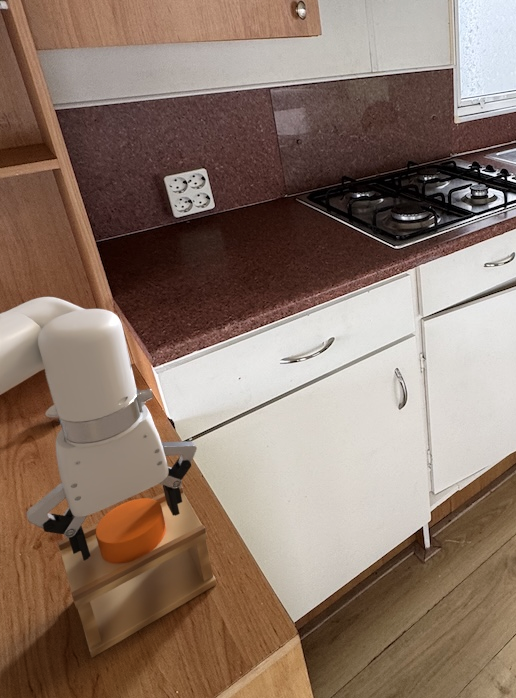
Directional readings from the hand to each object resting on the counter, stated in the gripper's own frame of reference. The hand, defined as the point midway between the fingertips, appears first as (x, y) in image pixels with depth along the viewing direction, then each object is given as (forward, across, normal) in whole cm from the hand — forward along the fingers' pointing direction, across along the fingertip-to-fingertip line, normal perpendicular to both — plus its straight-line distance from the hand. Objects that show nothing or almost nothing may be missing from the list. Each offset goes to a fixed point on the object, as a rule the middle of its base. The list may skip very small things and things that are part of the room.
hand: (131, 529), depth 72 cm
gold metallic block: (+11, 0, 0) cm, 11 cm away
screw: (+11, +2, -50) cm, 51 cm away
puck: (+2, 0, 0) cm, 2 cm away
